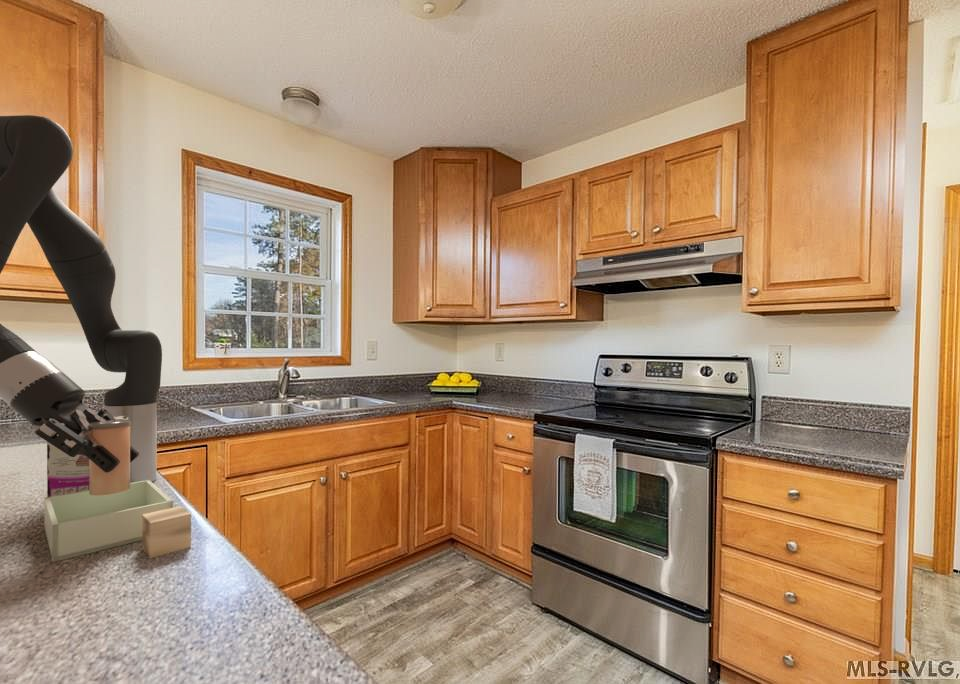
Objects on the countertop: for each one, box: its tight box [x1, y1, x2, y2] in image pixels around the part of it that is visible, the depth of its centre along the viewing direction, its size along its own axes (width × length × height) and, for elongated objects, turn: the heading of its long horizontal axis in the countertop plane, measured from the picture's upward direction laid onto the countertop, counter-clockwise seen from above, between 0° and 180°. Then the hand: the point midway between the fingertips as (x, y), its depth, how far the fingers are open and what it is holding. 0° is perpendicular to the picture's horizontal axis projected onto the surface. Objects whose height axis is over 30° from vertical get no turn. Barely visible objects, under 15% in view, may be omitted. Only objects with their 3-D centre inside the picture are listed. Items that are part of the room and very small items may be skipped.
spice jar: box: [89, 420, 131, 495], centre depth 73 cm, size 5×5×11 cm
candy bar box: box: [46, 416, 129, 498], centre depth 87 cm, size 11×5×16 cm, turn 117°
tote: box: [43, 480, 174, 563], centre depth 76 cm, size 17×14×5 cm
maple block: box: [141, 505, 192, 559], centre depth 69 cm, size 5×5×5 cm
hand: (124, 463), depth 73 cm, fingers closed on spice jar, 5 cm apart
